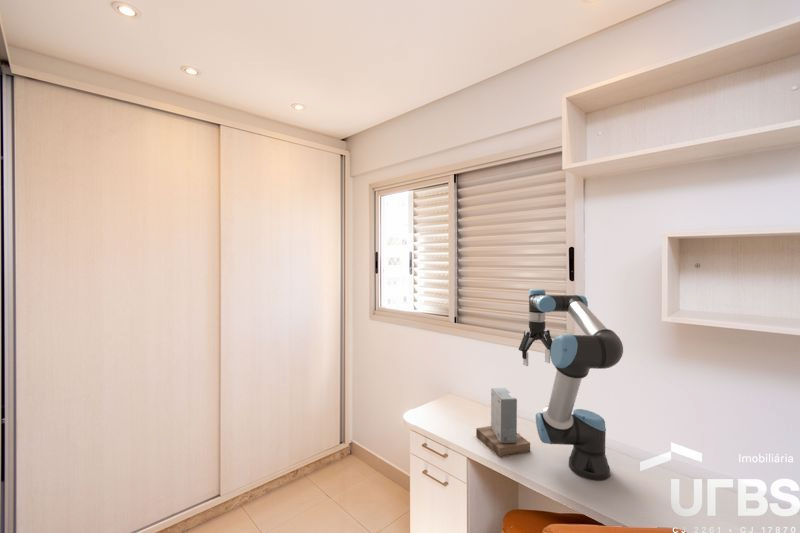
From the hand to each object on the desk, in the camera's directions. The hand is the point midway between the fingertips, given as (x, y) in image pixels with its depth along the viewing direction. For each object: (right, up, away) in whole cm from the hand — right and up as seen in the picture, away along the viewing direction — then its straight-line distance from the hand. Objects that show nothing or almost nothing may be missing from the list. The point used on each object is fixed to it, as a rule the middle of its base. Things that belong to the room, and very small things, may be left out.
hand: (536, 364), depth 173 cm
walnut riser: (-19, -36, -7) cm, 41 cm away
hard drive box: (-18, -32, -7) cm, 38 cm away
